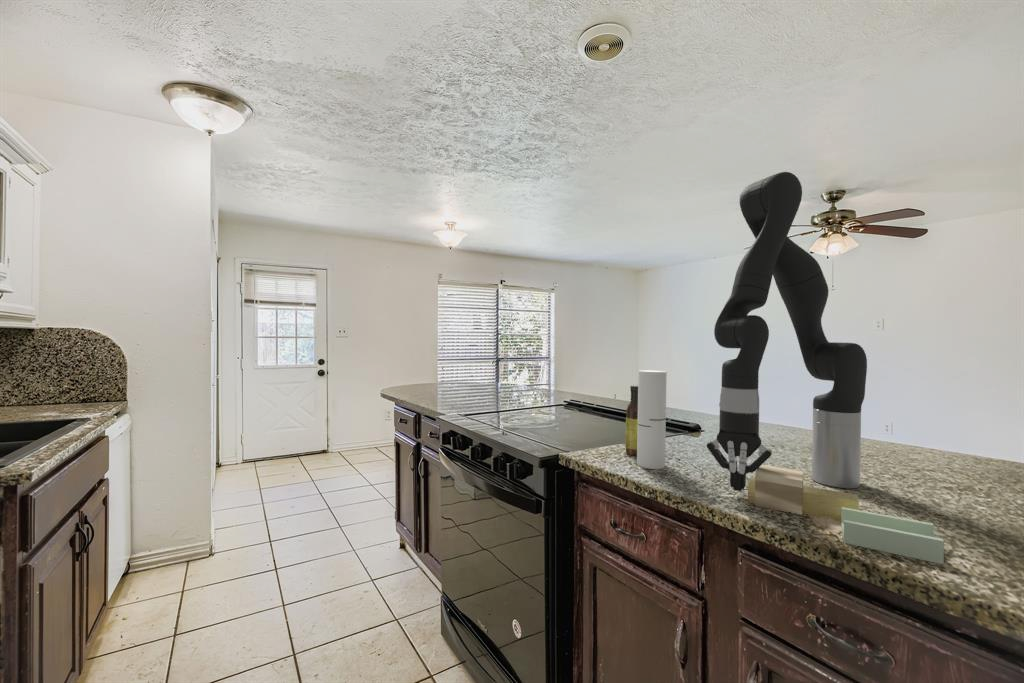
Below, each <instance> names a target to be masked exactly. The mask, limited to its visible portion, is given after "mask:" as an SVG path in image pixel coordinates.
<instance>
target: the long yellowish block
mask: <svg viewBox="0 0 1024 683" xmlns="http://www.w3.org/2000/svg"><path fill="white" fill-rule="evenodd" d="M747 481H748V482H747V503H749V502H750V504H754V505H755V476H751V477H750V478H749V480H747ZM859 503H860V502H859V498H858V494H855V493H849V492H843V491H837V490H832V489H826V488H820V487H813V486H807V485H803V494H802V514H804V513H806V515H811V516H815V517H819V518H825V517H826V518H825V519H830V518H831V520H836V521H841V522H842V507H844V508H850V509H855V510H860V509H859V505H860V504H859Z"/></svg>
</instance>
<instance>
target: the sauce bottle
mask: <svg viewBox="0 0 1024 683" xmlns="http://www.w3.org/2000/svg"><path fill="white" fill-rule="evenodd" d="M629 390H630V401H629V403H628V405H627V407H626V412H625V414H626V417H625V435H624V436H625V440H624V441H625V443H624V444H625V445H624V446H625V453H626V454H627V455H629V456H634V457H637V431H638V385H630V389H629Z"/></svg>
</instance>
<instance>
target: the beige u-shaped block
mask: <svg viewBox="0 0 1024 683" xmlns="http://www.w3.org/2000/svg"><path fill="white" fill-rule="evenodd" d="M754 475H755V476H754V477H755V504H754V506H755V507H759V508H766V509H769V508H770V509H771V510H774V511H779V510H780V512H786V513H789V512H791V514H795V513H796V514H795V515H801V516H802V515H803V513H802V494H803V486H804V470H802V469H795V468H794V469H793V468H788V467H779V466H774V465H767V464H762V465H761V466H760V467H759V468H758V469H757V470H755V472H754ZM770 509H769V510H770Z"/></svg>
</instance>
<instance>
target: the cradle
mask: <svg viewBox="0 0 1024 683" xmlns="http://www.w3.org/2000/svg"><path fill="white" fill-rule="evenodd" d="M840 526H841V534H842V539H843V543H844V544H847V545H852V546H858V547H861V548H867V549H871V550H875V551H881V552H885V553H889V554H893V555H898V556H903V557H907V558H911V559H917V560H922V561H926V562H931V563H934V564H940V565H944V562H945V560H944V559H945V556H944V555H945V541H944V539H943V538H939V537H935V536H934V530H935V526H934V524H933V523H932V522H927V521H921V520H916V519H911V518H910V519H909V518H904V517H899V516H895V515H894V516H893V515H887V514H883V513H877V512H872V511H866V510H860V509H859V510H855V509H850V508H844V507H842V521H841V525H840Z"/></svg>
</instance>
